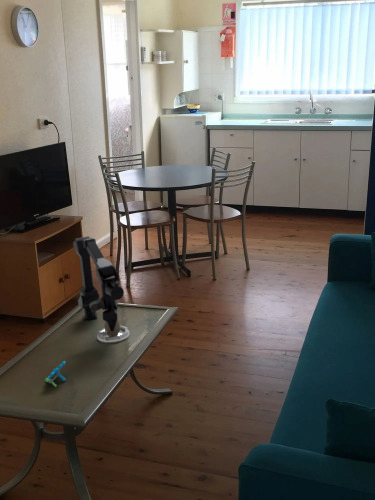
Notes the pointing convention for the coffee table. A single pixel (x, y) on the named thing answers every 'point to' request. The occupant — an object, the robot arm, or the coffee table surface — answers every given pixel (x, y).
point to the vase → (116, 329)
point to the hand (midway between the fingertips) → (112, 326)
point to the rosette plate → (119, 337)
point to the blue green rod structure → (56, 371)
